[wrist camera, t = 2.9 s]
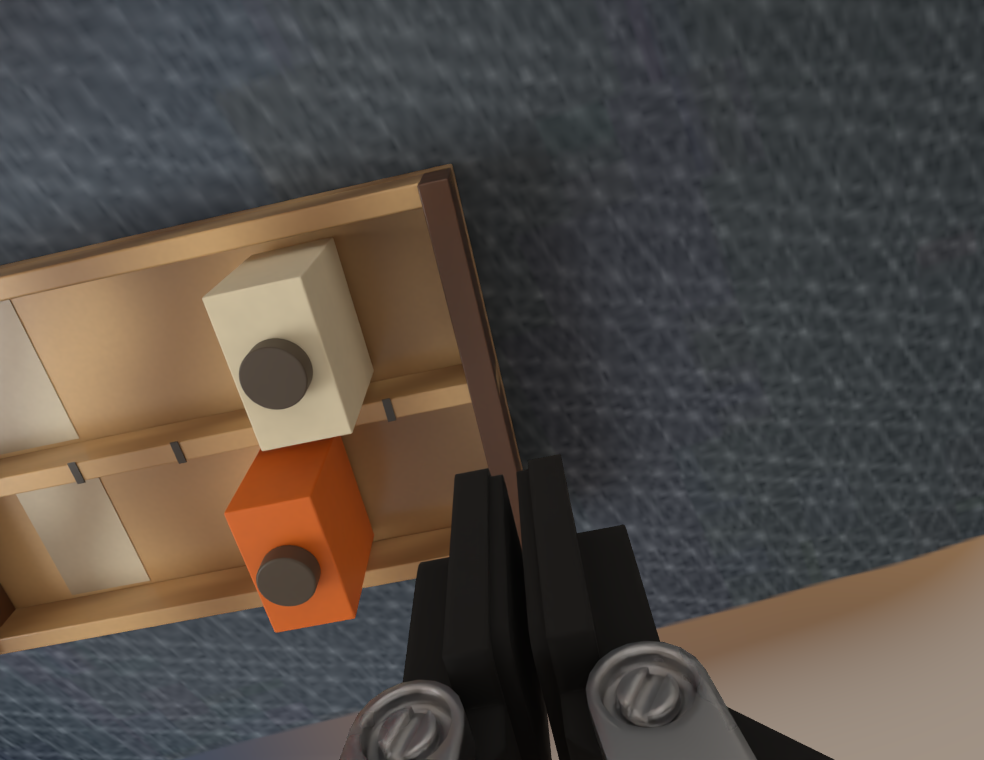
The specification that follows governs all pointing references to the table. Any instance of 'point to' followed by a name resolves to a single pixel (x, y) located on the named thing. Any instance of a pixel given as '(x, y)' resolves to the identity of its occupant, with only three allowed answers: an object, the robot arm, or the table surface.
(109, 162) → the table surface
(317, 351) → the cream block with knob
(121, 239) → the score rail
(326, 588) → the orange block with knob
